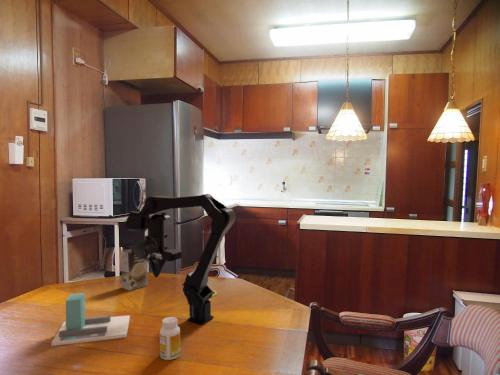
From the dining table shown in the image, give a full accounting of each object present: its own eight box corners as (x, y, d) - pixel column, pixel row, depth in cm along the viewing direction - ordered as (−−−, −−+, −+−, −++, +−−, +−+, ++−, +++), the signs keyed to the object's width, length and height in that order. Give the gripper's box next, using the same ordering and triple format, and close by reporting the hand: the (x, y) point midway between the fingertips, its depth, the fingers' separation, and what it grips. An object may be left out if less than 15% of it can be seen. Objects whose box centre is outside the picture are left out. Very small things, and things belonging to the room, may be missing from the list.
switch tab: (85, 324, 109) (84, 292, 108) (81, 332, 103) (80, 299, 103) (71, 325, 108) (70, 294, 107) (66, 334, 102) (65, 300, 101)
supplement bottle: (181, 349, 96) (181, 315, 95) (178, 360, 90) (178, 324, 90) (162, 350, 95) (162, 315, 95) (157, 360, 90) (157, 324, 90)
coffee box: (129, 291, 143) (128, 252, 142) (121, 287, 147) (120, 250, 146) (148, 285, 150) (148, 249, 149) (140, 282, 154) (139, 246, 153)
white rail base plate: (129, 318, 116) (129, 310, 116) (126, 337, 103) (126, 329, 102) (64, 324, 111) (64, 317, 111) (51, 345, 97) (51, 337, 97)
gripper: (118, 233, 116) (118, 278, 117) (159, 238, 107) (159, 288, 108) (143, 228, 126) (144, 270, 126) (183, 233, 117) (183, 278, 117)
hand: (156, 276), depth 119 cm, fingers closed
